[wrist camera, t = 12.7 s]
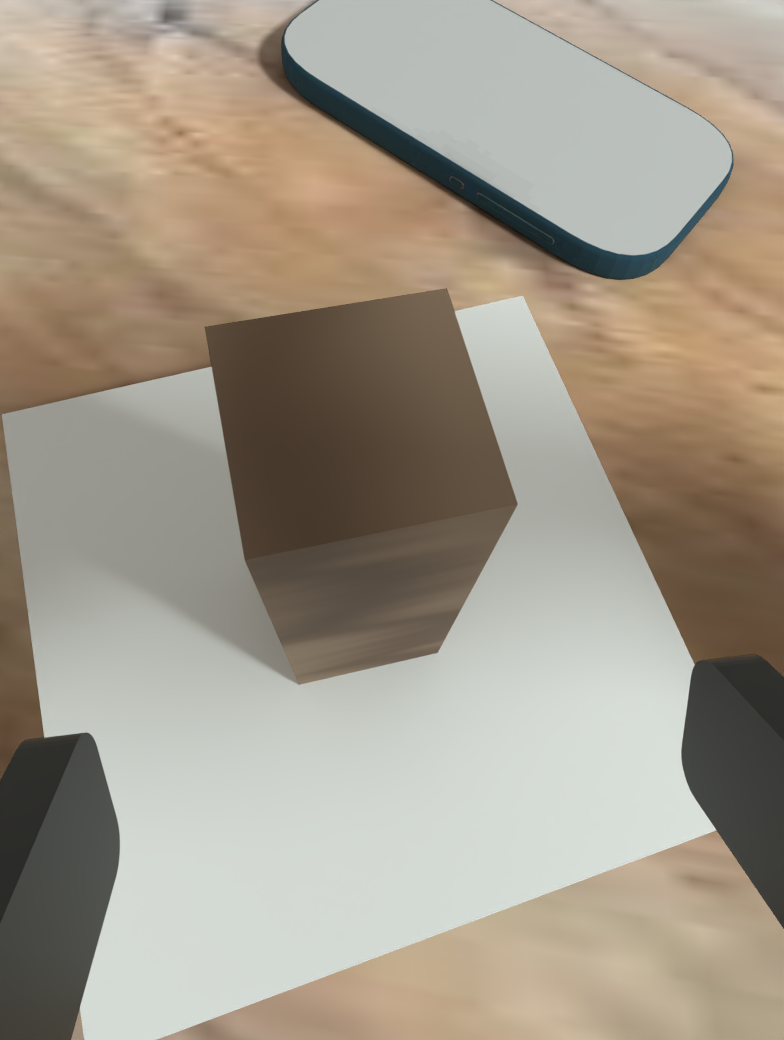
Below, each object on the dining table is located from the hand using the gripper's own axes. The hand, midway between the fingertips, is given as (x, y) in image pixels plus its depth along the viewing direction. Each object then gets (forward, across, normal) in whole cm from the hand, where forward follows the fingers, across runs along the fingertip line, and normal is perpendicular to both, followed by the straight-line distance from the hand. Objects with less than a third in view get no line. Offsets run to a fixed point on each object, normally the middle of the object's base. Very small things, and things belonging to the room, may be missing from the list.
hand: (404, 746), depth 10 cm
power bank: (+35, -10, -10) cm, 38 cm away
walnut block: (+13, 0, +5) cm, 14 cm away
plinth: (+16, 0, +8) cm, 18 cm away
